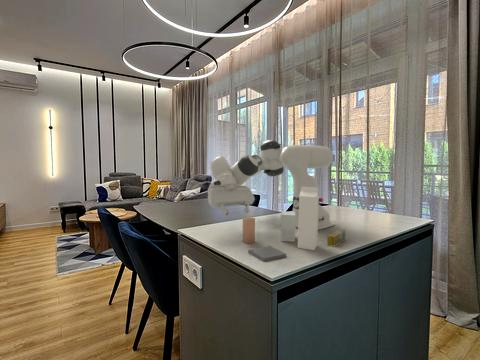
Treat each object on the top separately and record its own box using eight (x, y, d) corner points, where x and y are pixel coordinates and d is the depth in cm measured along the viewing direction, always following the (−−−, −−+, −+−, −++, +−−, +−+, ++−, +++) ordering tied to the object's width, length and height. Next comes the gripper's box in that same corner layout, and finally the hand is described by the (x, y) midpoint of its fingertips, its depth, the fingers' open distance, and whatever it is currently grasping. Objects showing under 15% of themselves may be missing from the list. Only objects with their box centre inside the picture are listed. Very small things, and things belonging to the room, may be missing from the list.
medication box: (339, 238, 107) (339, 229, 107) (345, 240, 106) (345, 230, 105) (327, 245, 98) (327, 235, 98) (334, 247, 97) (334, 236, 96)
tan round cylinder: (250, 239, 104) (250, 216, 104) (257, 242, 100) (257, 219, 100) (240, 240, 102) (240, 217, 101) (246, 244, 98) (246, 220, 97)
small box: (295, 242, 101) (295, 215, 100) (280, 241, 102) (281, 214, 101) (294, 236, 109) (295, 211, 108) (281, 235, 110) (281, 210, 109)
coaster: (270, 248, 93) (270, 245, 93) (286, 256, 85) (286, 253, 85) (248, 252, 89) (248, 249, 89) (263, 261, 81) (263, 258, 81)
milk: (314, 250, 92) (316, 188, 90) (297, 248, 94) (299, 187, 93) (317, 245, 97) (319, 186, 96) (300, 243, 100) (302, 185, 98)
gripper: (245, 190, 121) (256, 215, 114) (203, 192, 112) (212, 219, 104) (250, 181, 117) (261, 206, 109) (207, 182, 107) (216, 210, 100)
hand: (237, 213), depth 107 cm, fingers open, 8 cm apart
